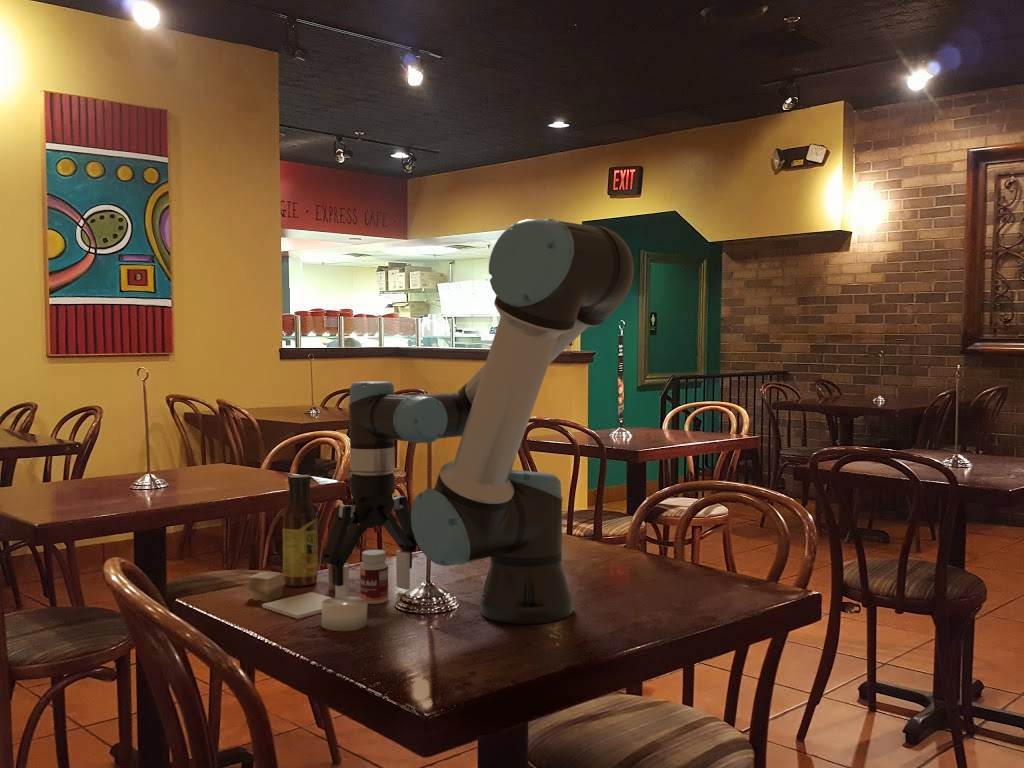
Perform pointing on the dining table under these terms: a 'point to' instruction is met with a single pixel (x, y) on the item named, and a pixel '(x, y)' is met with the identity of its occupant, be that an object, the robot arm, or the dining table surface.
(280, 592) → the beech block
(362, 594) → the pill bottle
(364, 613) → the white squat cylinder
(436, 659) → the dining table surface
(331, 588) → the cork
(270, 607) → the tile
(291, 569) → the sauce bottle
